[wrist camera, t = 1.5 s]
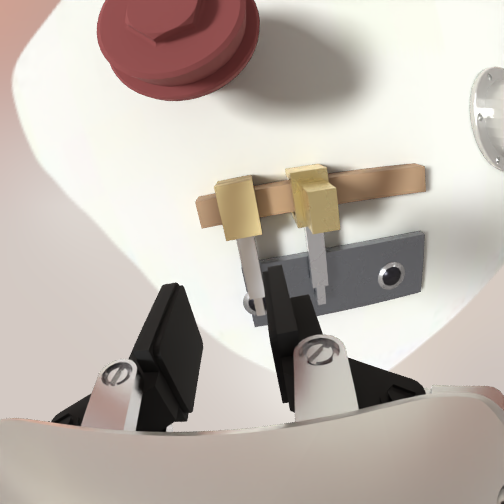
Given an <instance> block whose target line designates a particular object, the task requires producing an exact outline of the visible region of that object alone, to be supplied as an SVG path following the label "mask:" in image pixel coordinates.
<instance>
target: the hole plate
mask: <svg viewBox="0 0 504 504" xmlns="http://www.w3.org/2000/svg"><path fill="white" fill-rule="evenodd" d="M424 236H425V234H424V233H422V232H421V231H416V232H411V233H406V234H401V235H395V236H390V237H385V238H379V239H374V240H369V241H363V242H358V243H353V244H347V245H342V246H336V247H331V248H325V251H326V261H327V273H328V286H325V294H326V304H322V305H318V303H317V301H316V292H315V288H313V287H312V284H311V279H310V270H309V261H308V253H307V252H303V253H298V254H292V255H287V256H281V257H276V258H270V259H265V260H259V263H260V269H261V274H262V279H263V273H262V272H264V271H268V268H267V267H271V266H276V265H282V267H283V271H284V275H285V279H286V284H287V288H288V292H289V296H290V298H291V297H296V296H302V295H307V294H309V296H310V299H311V301H312V304H313V307H314V310H315V313H316V316H319V315H324V314H329V313H334V312H339V311H343V310H348V309H353V308H357V307H362V306H366V305H370V304H375V303H379V302H383V301H387V300H391V299H395V298H399V297H403V296H407V295H411V294H415V293H418V292H421V283H422V272H423V257H424ZM242 273H243V277H244V272H243V268H242ZM244 281H245V277H244ZM263 284H264V283H263ZM245 286H246V290H247V285H246V281H245ZM263 303H264V308H265V315H261V316H257V313H256V309H255V304H254V300H253V299H251V300H250V299H249V294H248V290H247V294H246V295H245V297H244V300H243V305H244V307H245V309H246V310H247V311H248V312H249V313H250V314H252V317H253V321H254V325H255V327H258V326H264V325H268V321H267V311H266V302H265V297H263Z"/></svg>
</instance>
